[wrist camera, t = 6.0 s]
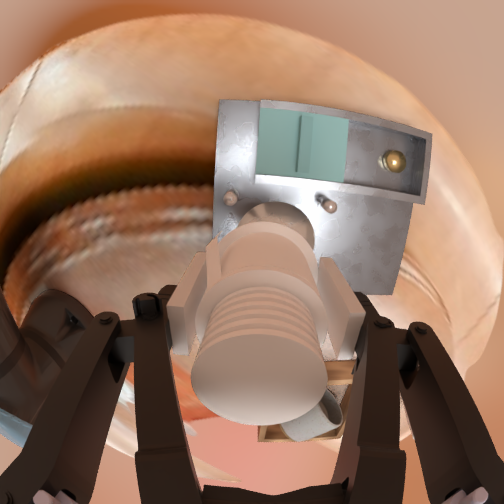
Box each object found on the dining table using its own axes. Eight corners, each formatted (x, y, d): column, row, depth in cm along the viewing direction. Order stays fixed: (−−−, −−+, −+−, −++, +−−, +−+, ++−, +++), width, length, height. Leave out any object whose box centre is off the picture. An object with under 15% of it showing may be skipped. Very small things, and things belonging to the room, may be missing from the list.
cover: (255, 172, 25) (255, 174, 22) (260, 110, 23) (260, 105, 20) (338, 181, 25) (346, 183, 23) (343, 121, 23) (352, 118, 21)
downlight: (342, 280, 18) (400, 385, 8) (266, 340, 19) (263, 458, 10) (259, 190, 16) (249, 230, 7) (183, 266, 18) (113, 362, 8)
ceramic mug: (273, 402, 40) (276, 439, 33) (312, 377, 38) (321, 416, 31) (311, 422, 43) (317, 455, 36) (347, 401, 41) (358, 434, 34)
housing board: (214, 279, 32) (207, 300, 28) (221, 103, 26) (215, 93, 21) (385, 287, 33) (402, 306, 28) (412, 132, 26) (435, 131, 21)
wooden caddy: (257, 424, 43) (257, 441, 39) (267, 361, 37) (268, 381, 33) (336, 422, 43) (340, 438, 39) (364, 359, 37) (372, 377, 33)
